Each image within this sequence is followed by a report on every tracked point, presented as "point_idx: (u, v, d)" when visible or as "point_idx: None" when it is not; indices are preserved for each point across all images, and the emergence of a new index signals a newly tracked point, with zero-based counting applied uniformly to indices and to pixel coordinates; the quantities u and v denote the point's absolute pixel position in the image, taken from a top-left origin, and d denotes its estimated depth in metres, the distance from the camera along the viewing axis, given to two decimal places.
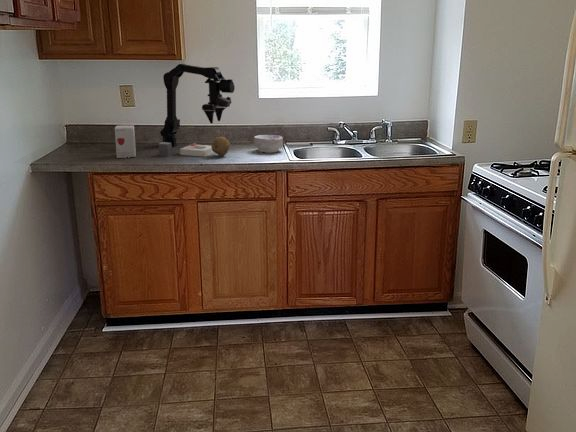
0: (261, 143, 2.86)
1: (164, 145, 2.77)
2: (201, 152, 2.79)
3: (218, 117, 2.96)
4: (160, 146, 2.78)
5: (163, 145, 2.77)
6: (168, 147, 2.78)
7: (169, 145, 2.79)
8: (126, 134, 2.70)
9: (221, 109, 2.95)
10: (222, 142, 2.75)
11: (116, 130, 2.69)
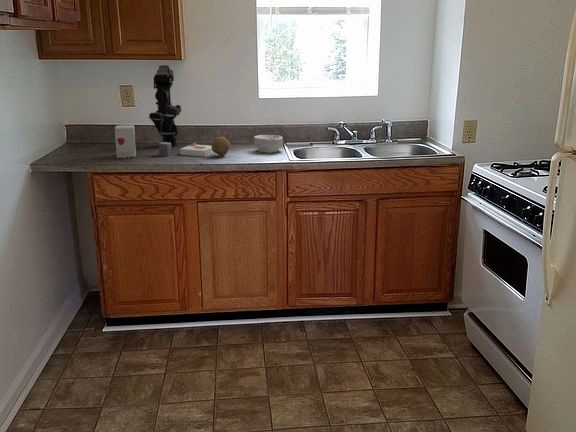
0: (261, 143, 2.86)
1: (164, 145, 2.77)
2: (201, 152, 2.79)
3: (168, 126, 2.81)
4: (160, 146, 2.78)
5: (163, 145, 2.77)
6: (168, 147, 2.78)
7: (169, 145, 2.79)
8: (126, 134, 2.70)
9: (171, 118, 2.80)
10: (222, 142, 2.75)
11: (116, 130, 2.69)
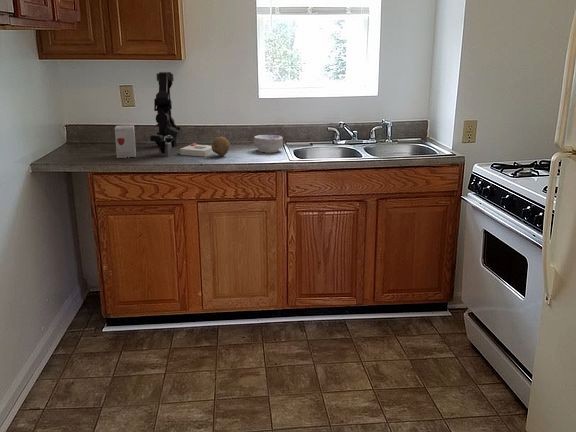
0: (261, 143, 2.86)
1: None
2: (201, 152, 2.79)
3: None
4: None
5: None
6: (168, 147, 2.78)
7: (169, 145, 2.79)
8: (126, 134, 2.70)
9: (169, 139, 2.81)
10: (222, 142, 2.75)
11: (116, 130, 2.69)
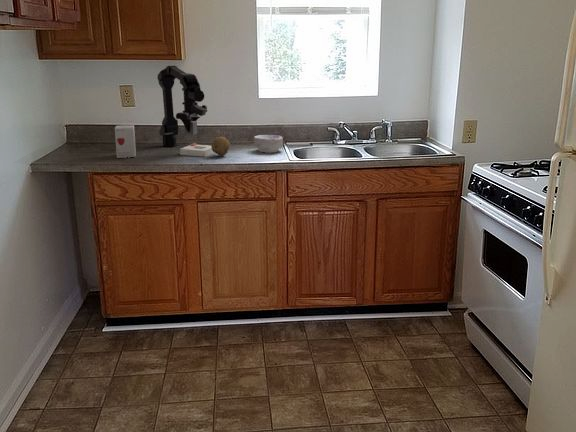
0: (261, 143, 2.86)
1: None
2: (201, 152, 2.79)
3: None
4: None
5: None
6: (194, 125, 2.79)
7: (195, 123, 2.80)
8: (126, 134, 2.70)
9: (195, 118, 2.82)
10: (222, 142, 2.75)
11: (116, 130, 2.69)
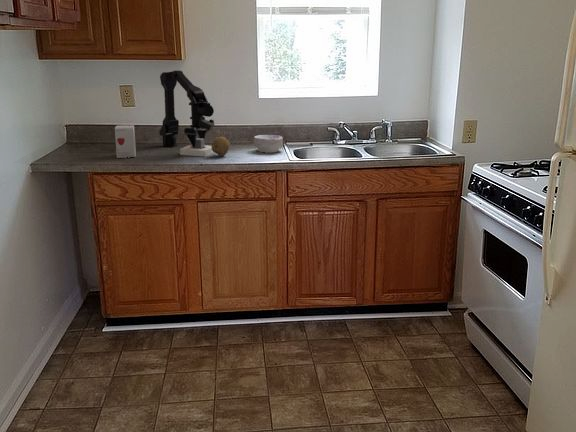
0: (261, 143, 2.86)
1: (197, 141, 2.83)
2: (201, 152, 2.79)
3: None
4: None
5: (196, 141, 2.83)
6: (201, 143, 2.84)
7: (202, 141, 2.84)
8: (126, 134, 2.70)
9: (204, 131, 2.88)
10: (222, 142, 2.75)
11: (116, 130, 2.69)
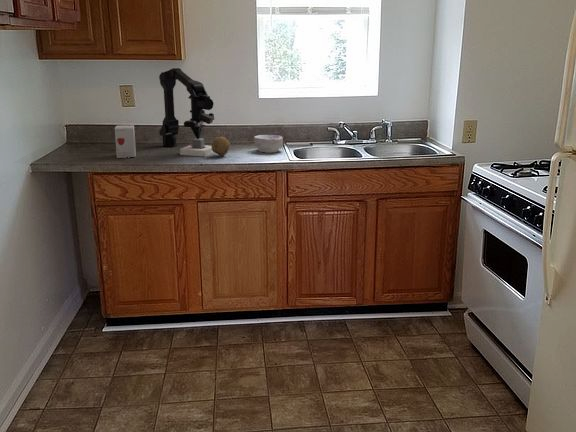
0: (261, 143, 2.86)
1: (197, 141, 2.83)
2: (201, 152, 2.79)
3: None
4: (193, 142, 2.84)
5: (196, 141, 2.83)
6: (201, 143, 2.84)
7: (202, 141, 2.84)
8: (126, 134, 2.70)
9: (200, 126, 2.83)
10: (222, 142, 2.75)
11: (116, 130, 2.69)
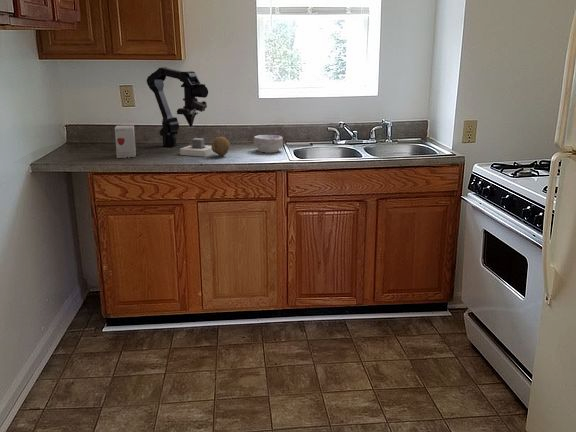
0: (261, 143, 2.86)
1: (197, 141, 2.83)
2: (201, 152, 2.79)
3: None
4: (193, 142, 2.84)
5: (196, 141, 2.83)
6: (201, 143, 2.84)
7: (202, 141, 2.84)
8: (126, 134, 2.70)
9: (193, 114, 2.91)
10: (222, 142, 2.75)
11: (116, 130, 2.69)
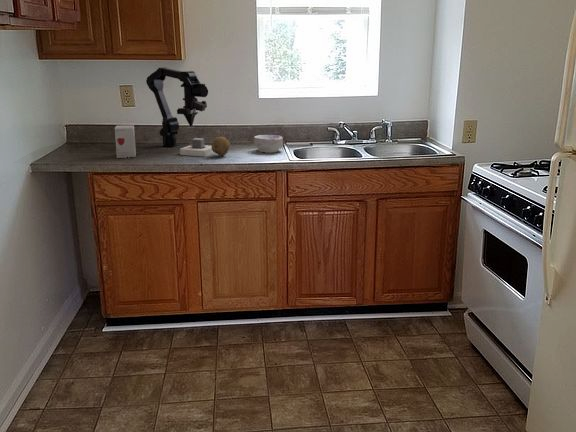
0: (261, 143, 2.86)
1: (197, 141, 2.83)
2: (201, 152, 2.79)
3: None
4: (193, 142, 2.84)
5: (196, 141, 2.83)
6: (201, 143, 2.84)
7: (202, 141, 2.84)
8: (126, 134, 2.70)
9: None
10: (222, 142, 2.75)
11: (116, 130, 2.69)
